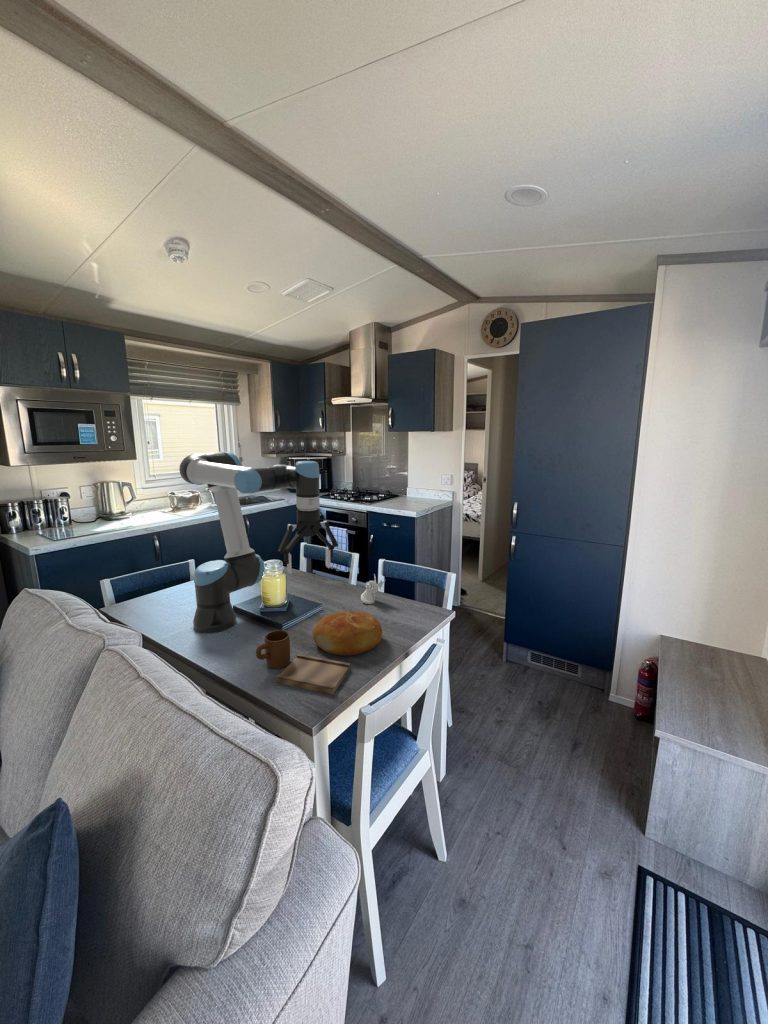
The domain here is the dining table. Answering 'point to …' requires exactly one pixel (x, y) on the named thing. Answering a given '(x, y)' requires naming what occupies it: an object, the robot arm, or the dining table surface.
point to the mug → (275, 649)
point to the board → (314, 673)
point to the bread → (347, 633)
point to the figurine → (371, 591)
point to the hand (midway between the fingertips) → (309, 569)
